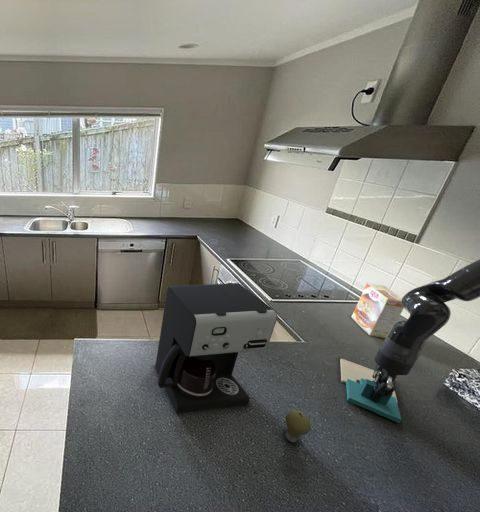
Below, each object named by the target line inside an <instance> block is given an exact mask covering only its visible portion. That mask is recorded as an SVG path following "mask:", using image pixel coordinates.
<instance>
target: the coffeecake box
mask: <svg viewBox="0 0 480 512" xmlns="http://www.w3.org/2000/svg"><path fill="white" fill-rule="evenodd" d="M402 298H403V297H402V296H400V295H398V294H397V293H396V292H394V291H393V290H391V289H390V288H388V287H387V286H385V285H381V284H375V283H371V282H370V283H368V282H367V283H366V284H365V286H364V289H363V291H362V293H361V295H360V297H359V300H358V302H357V304H356V306H355V308H354V311H353V312H352V315H351V319H352V320H353V321H354V322H355V323H356V324H357V325H358V326H359V327H360V328H361V329H363V331H364V332H366V334H368V335H369V336H371V337H378V338H383V339H386V338H387V337H388V335H389V333H390V331H391V329H392V328H393V326H394V324H395V323H396V322H398V321H399V318H400V316H401V314H402V312H403V310H405V308H404V307H403V306H402V303H401V300H402Z"/></svg>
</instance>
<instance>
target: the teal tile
mask: <svg viewBox="0 0 480 512" xmlns="http://www.w3.org/2000/svg"><path fill="white" fill-rule="evenodd" d="M375 385H376V383H375V382H373V381H370V380H368V379H366V380H365V379H362V378H361V379H360V382H355V381H352V380H350V379H347V381H346V384H345V387H346V400H347V402H348V403H352V404H354V405H355V406H359V407H361V408H363V409H365V410H368V411H370V412H372V413H375V414H377V415H380V416H382V417H383V418H386V419H388V420H390V421H392V422H396V423H398V424H400V423H401V421H402V415H401V412H400V409H399V406H398V403H397V401H398V400H397V401H396V398H397V397H396V398H395V397H393V396H392V394H393V392H392V393H391V394H390V395H389V396H387V397H385V396H382V398H381V399H380V401H379V402H375V401H373V400H371V399H370V395H371V393H372V391H373V390H374V387H375Z"/></svg>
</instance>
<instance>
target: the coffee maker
mask: <svg viewBox="0 0 480 512" xmlns="http://www.w3.org/2000/svg"><path fill="white" fill-rule="evenodd" d="M166 289H167V290H166V295H165V301H164V308H163V314H162V321H161V326H160V327H161V328H160V333H159V340H158V347H157V354H156V360H155V366H154V369H155V371H156V373H157V375H158V379H157V385H158V387H159V388H160V389H164V390H165V392H166V395H167V396H168V398H169V400H170V403H171V405H172V407H173V409H174V411H175V413H176V414H182V413H190V412H199V411H207V410H215V409H224V408H233V407H241V406H247V405H249V402H250V396H249V395H248V394H247V392H246V391H245V389H243V387H242V386H241V385H240V383H239V382H238V381H237V379H236V378H235V376H234V375H233V374H234V373H233V372H234V369H235V365H236V362H237V358H238V355H239V353H243V352H244V353H245V352H253V351H254V352H255V351H265V350H267V349H268V347H269V344H270V342H271V338H272V335H273V333H274V329H275V327H276V324H277V322H278V313H277V312H276V310H275V309H273V308H272V307H271V306H269V304H267V303H266V302H265V301H263V300H262V299H261V298H259V297H258V296H257V295H255V294H254V293H252V292H251V291H250V290H249V289H248V288H246V287H245V286H243V284H241V283H239V282H233V283H211V284H208V283H207V284H186V285H168V287H167V288H166Z"/></svg>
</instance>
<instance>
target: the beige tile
mask: <svg viewBox="0 0 480 512" xmlns="http://www.w3.org/2000/svg"><path fill="white" fill-rule="evenodd" d="M339 362H340V381H341V383H342V384H345V385H346V381H347V379H350V380H352V381H355V382H357V383H360V379H361V378H362V379H365V380H366V379H368V380H370V381H372V380H373V379H374V378H373V377H372V376H373V374H374V371H375V369H372V368H368V367H367V366H363V365H360V364H358V363H355V362H352V361H350V360H347V359H344V358H340V361H339ZM392 396H393V397H395V398H396V401H397V404H398V403H399V401H398V398H397V394H396V390H395V391H394V392H393V394H392Z"/></svg>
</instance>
